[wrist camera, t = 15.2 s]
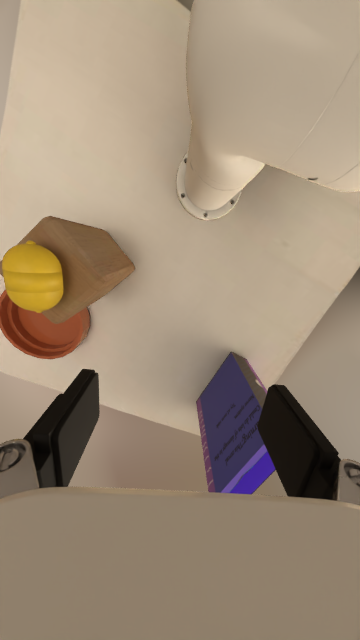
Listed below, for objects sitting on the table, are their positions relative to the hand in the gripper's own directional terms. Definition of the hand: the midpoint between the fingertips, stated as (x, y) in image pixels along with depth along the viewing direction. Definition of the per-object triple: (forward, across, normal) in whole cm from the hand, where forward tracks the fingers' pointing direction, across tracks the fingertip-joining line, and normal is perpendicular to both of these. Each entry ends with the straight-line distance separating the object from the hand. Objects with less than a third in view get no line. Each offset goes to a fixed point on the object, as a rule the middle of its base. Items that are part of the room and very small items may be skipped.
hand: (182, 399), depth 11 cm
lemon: (+16, +16, -3) cm, 23 cm away
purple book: (+36, -14, +24) cm, 46 cm away
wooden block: (+36, +16, -3) cm, 40 cm away
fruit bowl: (+36, +28, +10) cm, 47 cm away
